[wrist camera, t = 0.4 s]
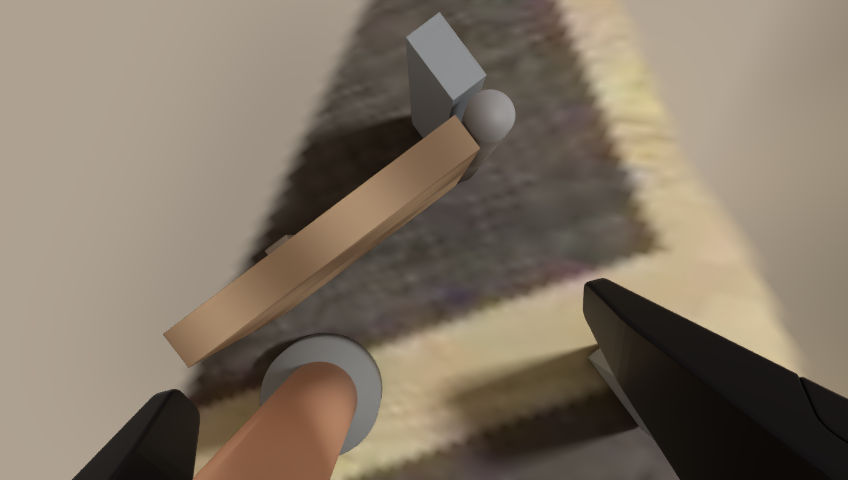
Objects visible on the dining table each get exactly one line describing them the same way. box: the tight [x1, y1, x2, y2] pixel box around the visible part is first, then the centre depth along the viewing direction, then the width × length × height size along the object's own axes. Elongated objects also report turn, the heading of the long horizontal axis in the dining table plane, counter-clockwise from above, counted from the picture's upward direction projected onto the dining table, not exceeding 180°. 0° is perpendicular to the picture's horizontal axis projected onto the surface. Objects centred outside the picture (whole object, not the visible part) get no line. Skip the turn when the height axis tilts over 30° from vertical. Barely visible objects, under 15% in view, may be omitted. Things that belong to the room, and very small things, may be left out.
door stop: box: [193, 333, 382, 480], centre depth 17 cm, size 7×7×14 cm
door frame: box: [406, 12, 654, 440], centre depth 19 cm, size 24×2×10 cm, turn 37°
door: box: [163, 90, 515, 368], centre depth 19 cm, size 15×3×10 cm, turn 127°
